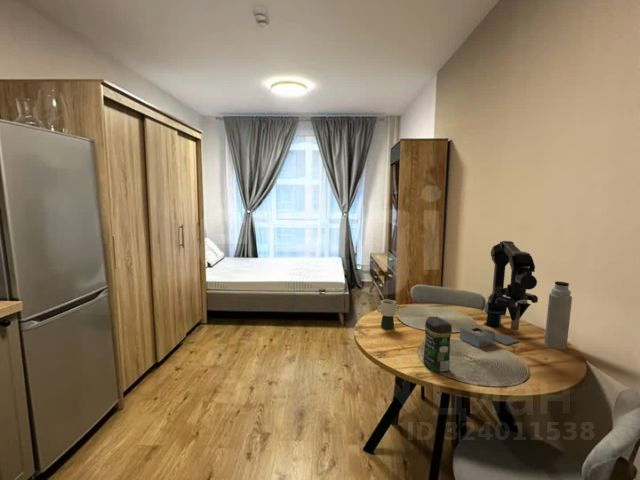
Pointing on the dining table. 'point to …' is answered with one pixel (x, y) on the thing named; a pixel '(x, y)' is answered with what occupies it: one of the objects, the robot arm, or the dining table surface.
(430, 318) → the coffee jar
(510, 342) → the pad
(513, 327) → the brown cylinder rod
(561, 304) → the thermos bottle
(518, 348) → the dining table surface
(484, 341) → the plate
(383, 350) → the dining table surface
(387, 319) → the character mug
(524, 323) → the dining table surface
